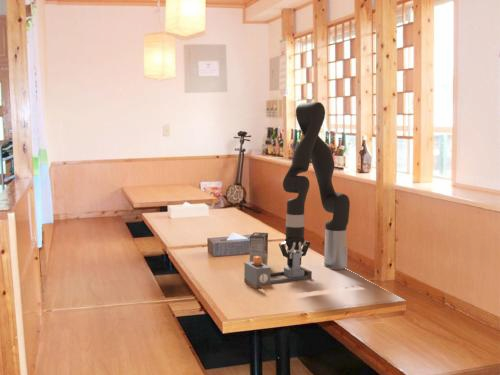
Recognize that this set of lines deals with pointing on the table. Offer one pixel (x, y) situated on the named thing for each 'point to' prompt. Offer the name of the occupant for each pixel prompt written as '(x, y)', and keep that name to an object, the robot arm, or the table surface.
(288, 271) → the carriage
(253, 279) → the cabinet
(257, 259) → the button
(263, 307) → the table surface
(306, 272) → the rail bed
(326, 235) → the robot arm
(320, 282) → the table surface
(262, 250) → the coffee box
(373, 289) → the table surface
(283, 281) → the guide rails
